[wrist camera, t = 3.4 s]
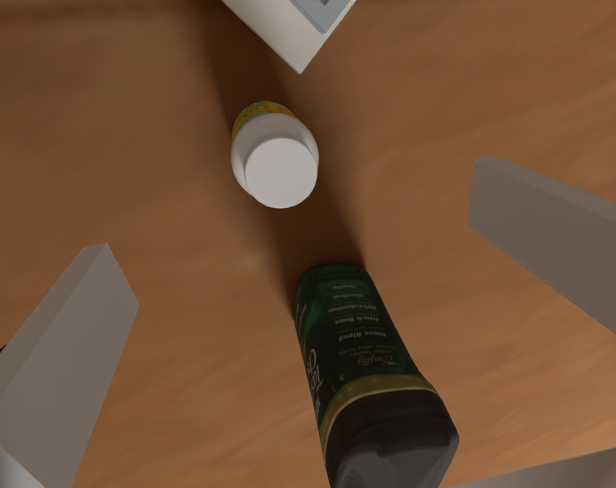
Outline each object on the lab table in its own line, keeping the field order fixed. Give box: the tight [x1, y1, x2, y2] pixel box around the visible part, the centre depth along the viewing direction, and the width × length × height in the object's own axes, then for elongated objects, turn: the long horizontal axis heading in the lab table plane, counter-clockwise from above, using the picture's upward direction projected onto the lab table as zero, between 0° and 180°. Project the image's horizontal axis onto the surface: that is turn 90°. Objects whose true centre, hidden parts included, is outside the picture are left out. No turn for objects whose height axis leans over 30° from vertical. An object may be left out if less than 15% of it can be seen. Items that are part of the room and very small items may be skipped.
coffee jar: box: [294, 264, 459, 488], centre depth 28 cm, size 10×8×19 cm
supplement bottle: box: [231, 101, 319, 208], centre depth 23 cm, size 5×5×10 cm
